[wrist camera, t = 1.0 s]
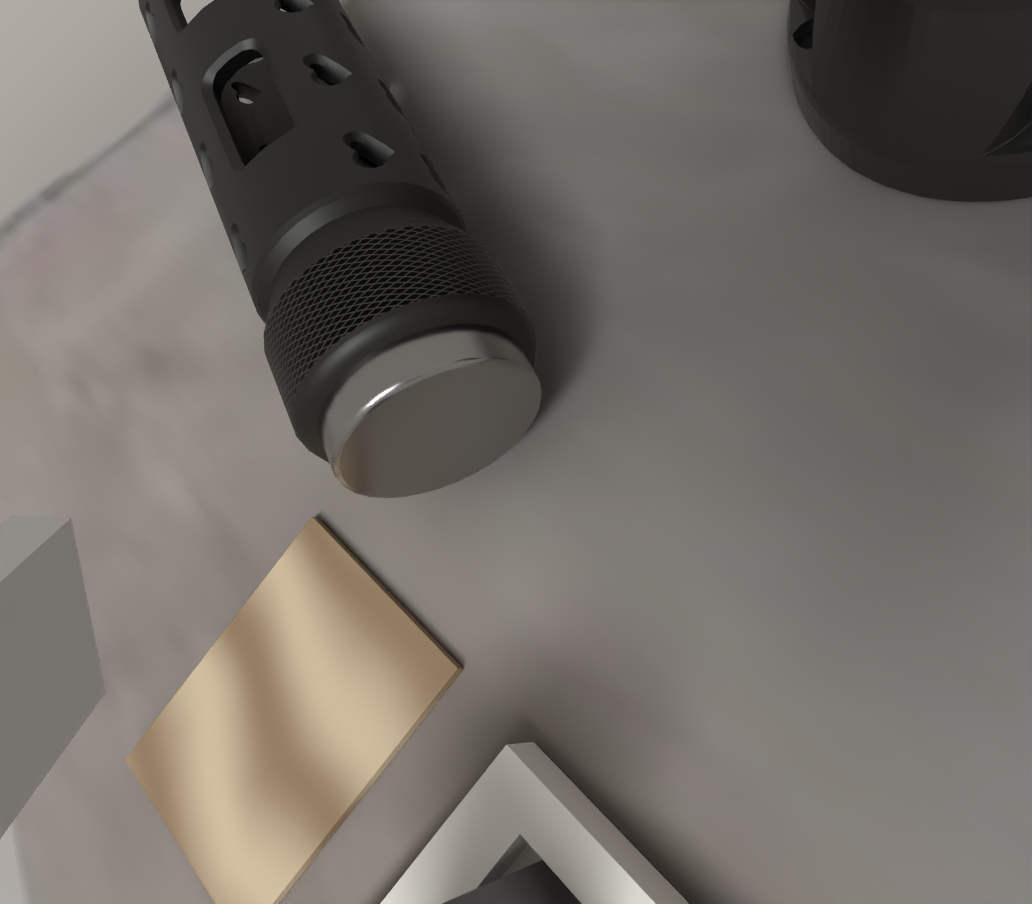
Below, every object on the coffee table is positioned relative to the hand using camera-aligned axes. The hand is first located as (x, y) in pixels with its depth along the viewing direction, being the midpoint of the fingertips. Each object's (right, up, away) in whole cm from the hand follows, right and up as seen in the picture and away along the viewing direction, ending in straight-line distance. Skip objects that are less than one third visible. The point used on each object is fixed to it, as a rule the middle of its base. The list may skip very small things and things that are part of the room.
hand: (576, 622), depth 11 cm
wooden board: (-11, -9, +25) cm, 28 cm away
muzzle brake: (-7, +12, +30) cm, 33 cm away
